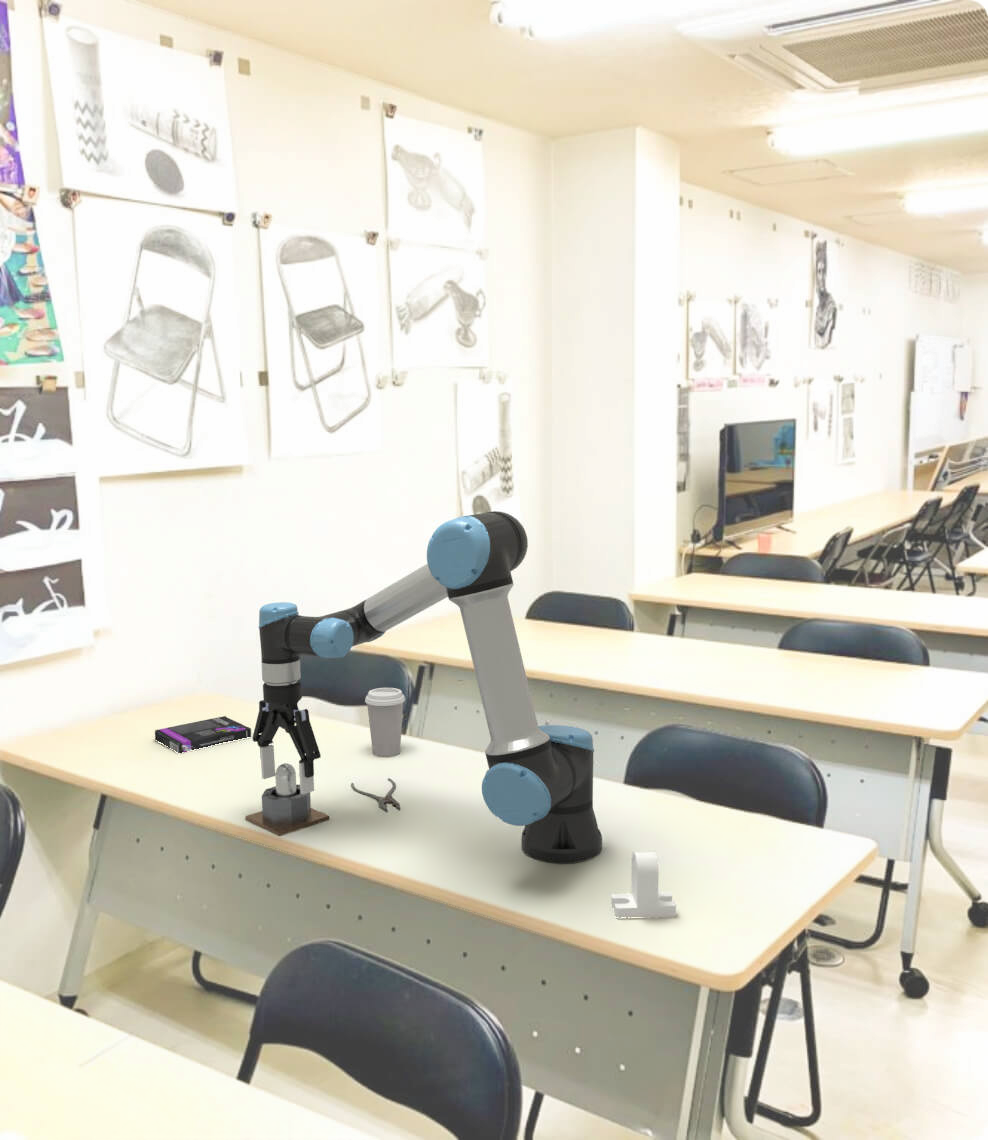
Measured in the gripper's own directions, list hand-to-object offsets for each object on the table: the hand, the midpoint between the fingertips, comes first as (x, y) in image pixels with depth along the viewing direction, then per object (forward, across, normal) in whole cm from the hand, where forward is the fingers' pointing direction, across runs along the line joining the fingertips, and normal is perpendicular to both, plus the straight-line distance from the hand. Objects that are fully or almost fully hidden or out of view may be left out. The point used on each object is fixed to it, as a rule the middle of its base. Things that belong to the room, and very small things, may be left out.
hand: (287, 784), depth 222 cm
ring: (+7, 0, 0) cm, 7 cm away
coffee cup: (+7, +20, -41) cm, 46 cm away
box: (+7, +61, -16) cm, 64 cm away
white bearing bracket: (+9, -76, -18) cm, 78 cm away
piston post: (+7, 0, 0) cm, 7 cm away
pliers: (+8, -2, -23) cm, 25 cm away
